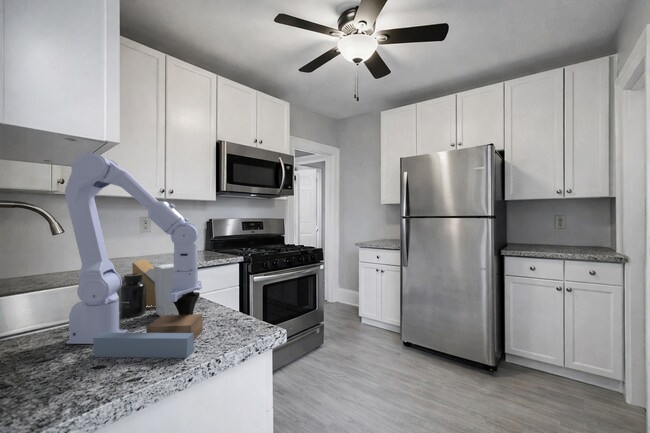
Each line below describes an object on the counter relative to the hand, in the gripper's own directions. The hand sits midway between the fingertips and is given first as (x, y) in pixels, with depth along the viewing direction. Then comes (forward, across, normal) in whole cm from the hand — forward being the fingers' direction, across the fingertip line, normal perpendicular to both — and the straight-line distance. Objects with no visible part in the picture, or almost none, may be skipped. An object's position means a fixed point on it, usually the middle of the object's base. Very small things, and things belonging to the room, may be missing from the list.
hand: (186, 322), depth 81 cm
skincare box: (+2, +12, +11) cm, 16 cm away
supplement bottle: (+2, +12, +22) cm, 25 cm away
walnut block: (+2, -6, 0) cm, 6 cm away
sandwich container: (+2, +24, +19) cm, 31 cm away
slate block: (+2, -14, +2) cm, 15 cm away
